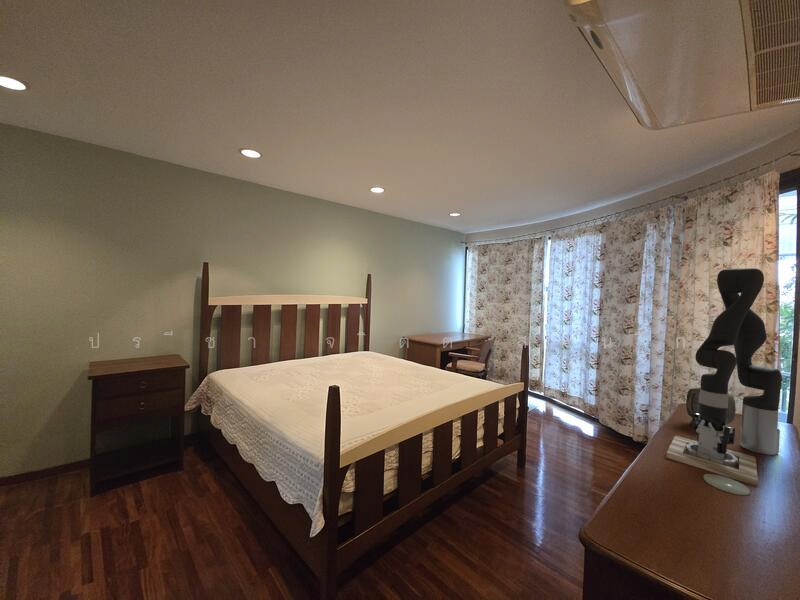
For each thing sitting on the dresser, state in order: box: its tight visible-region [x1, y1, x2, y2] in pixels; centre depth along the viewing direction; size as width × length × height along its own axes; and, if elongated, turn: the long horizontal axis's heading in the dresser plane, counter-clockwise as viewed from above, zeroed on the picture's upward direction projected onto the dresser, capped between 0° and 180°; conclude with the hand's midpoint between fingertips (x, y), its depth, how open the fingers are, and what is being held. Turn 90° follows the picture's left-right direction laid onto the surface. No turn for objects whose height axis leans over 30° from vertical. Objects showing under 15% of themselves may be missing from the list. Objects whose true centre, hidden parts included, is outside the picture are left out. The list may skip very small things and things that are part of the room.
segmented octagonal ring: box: [685, 443, 739, 469], centre depth 113 cm, size 13×13×3 cm
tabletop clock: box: [685, 387, 737, 425], centre depth 142 cm, size 14×9×25 cm, turn 23°
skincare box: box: [697, 425, 724, 460], centre depth 113 cm, size 6×4×12 cm
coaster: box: [703, 473, 751, 496], centre depth 97 cm, size 10×10×1 cm
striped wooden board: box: [666, 435, 759, 487], centre depth 113 cm, size 22×22×2 cm
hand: (710, 448), depth 113 cm, fingers closed on skincare box, 7 cm apart
